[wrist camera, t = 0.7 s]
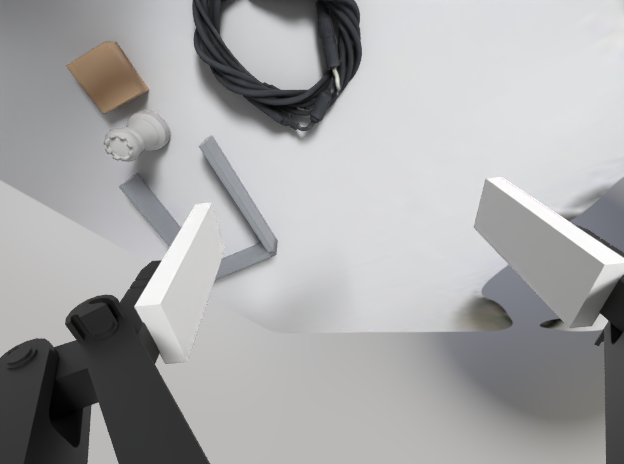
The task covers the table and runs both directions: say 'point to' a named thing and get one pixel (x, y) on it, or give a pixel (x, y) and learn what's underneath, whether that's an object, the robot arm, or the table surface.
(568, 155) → the table surface
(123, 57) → the walnut tile
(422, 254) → the table surface
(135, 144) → the rook chess piece
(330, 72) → the cable
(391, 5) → the table surface
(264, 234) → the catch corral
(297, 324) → the table surface
